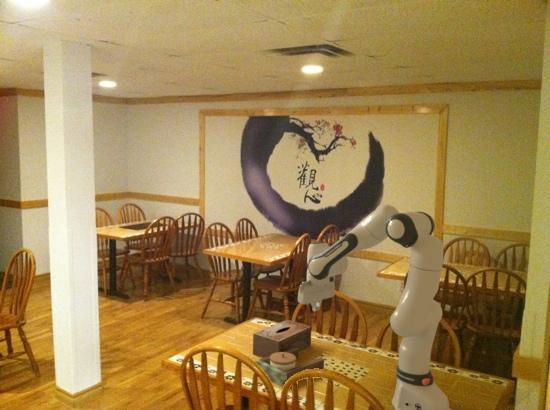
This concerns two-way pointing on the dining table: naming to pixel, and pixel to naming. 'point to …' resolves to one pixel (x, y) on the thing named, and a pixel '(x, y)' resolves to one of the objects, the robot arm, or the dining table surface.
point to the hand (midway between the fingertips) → (316, 310)
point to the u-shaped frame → (282, 377)
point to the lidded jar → (283, 361)
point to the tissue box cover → (281, 338)
